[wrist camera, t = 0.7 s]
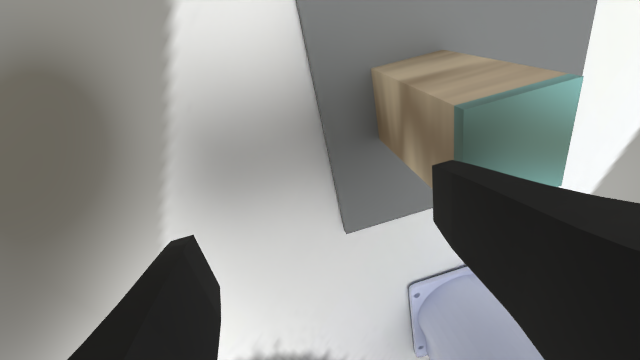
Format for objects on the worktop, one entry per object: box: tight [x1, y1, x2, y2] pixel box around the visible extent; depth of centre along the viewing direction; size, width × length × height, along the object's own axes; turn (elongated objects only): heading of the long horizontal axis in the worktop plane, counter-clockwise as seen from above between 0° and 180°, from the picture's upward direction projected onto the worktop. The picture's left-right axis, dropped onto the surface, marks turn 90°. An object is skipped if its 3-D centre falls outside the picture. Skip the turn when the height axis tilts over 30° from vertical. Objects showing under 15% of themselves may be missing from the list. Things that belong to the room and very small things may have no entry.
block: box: [371, 50, 584, 189], centre depth 14 cm, size 4×4×8 cm
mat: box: [296, 0, 597, 234], centre depth 18 cm, size 16×16×1 cm
